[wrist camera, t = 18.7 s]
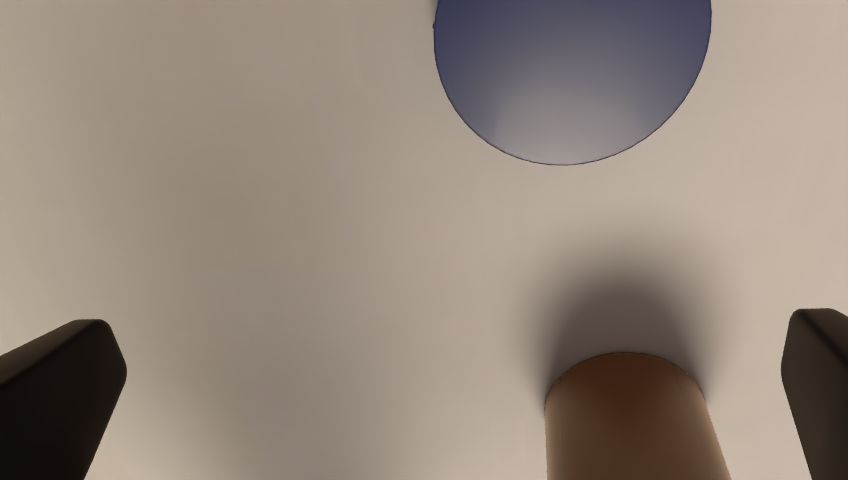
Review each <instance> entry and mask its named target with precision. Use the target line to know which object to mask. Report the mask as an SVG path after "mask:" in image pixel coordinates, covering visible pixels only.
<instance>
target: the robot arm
mask: <svg viewBox="0 0 848 480" xmlns="http://www.w3.org/2000/svg"><path fill="white" fill-rule="evenodd" d="M781 376H782V382H783V386H784V389H785V392H786V395H787V399H788V402H789V405H790V409H791V412H792V415H793V418H794V422H795V425H796V428H797V432H798V435H799V438H800V441H801V445H802V448H803V451H804V455H805V458H806V461H807V464H808V468H809V471H810V474H811V478H812V480H848V317H847V316H846V315H844V314H842V313H840V312H838V311H836V310H834V309H829V308H821V309H798V310H796V311H795V312H793V314H792V316H791V318H790V321H789V326H788V331H787V336H786V341H785V346H784V351H783V357H782V362H781ZM126 377H127V367H126V363H125V360H124V358H123V355H122V353H121V351H120V348H119V346H118V343H117V341H116V339H115V336H114V334H113V331H112V329H111V327H110V325H109V324H108V323H107V322H106V321H103V320H101V319H81V320H74V321H71V322H69V323H67V324H65V325H63V326H61V327H59V328H57V329H55V330H53V331H51V332H49V333H47V334H45V335H42V336H40V337H38V338H36V339H34V340H32V341H30V342H28V343H26V344H24V345H22V346H20V347H18V348H16V349H14V350H12V351H10V352H8V353H5V354H3V355H1V356H0V480H84V478H85V476H86V474H87V472H88V470H89V467H90V465H91V463H92V461H93V458H94V456H95V453H96V451H97V449H98V446H99V444H100V441H101V439H102V437H103V434H104V432H105V430H106V427H107V425H108V422H109V420H110V418H111V415H112V413H113V410H114V408H115V406H116V403H117V401H118V399H119V396H120V394H121V391H122V389H123V387H124V384H125V381H126Z"/></svg>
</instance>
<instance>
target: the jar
mask: <svg viewBox="0 0 848 480" xmlns="http://www.w3.org/2000/svg"><path fill="white" fill-rule="evenodd" d="M545 436H546V459H547V480H732V479H731V477H730V474H729V471H728V468H727V465H726V462H725V459H724V456H723V453H722V450H721V447H720V444H719V441H718V439H717V436H716V433H715V430H714V427H713V424H712V421H711V418H710V415H709V412H708V409H707V406H706V403H705V400H704V398H703V395H702V393H701V390H700V389H699V387H698V385H697V384H696V382H695V381H694V380H693V379H692V378H691V377H690V376H689V375H688V374H687V373H686V372H685V371H683V370H682V369H681V368H679V367H677V366H676V365H674V364H672V363H670V362H668V361H666V360H663V359H661V358H658V357H654V356H650V355H646V354H638V353H615V354H608V355H602V356H599V357H595V358H592V359H589V360H587V361H584V362H582V363H580V364H578V365H576V366H574V367H573V368H571V369H570V370H569V371H567V372H566V373H565V374H564V375H562V376H561V377H560V378H559V379H558V381H557V382H556V383H555V384H554V386H553V387H552V389H551V391H550V392H549V394H548V397H547V400H546V404H545Z"/></svg>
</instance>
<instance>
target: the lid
mask: <svg viewBox="0 0 848 480" xmlns="http://www.w3.org/2000/svg"><path fill="white" fill-rule="evenodd" d="M711 17H712V10H711V0H439V1H438V5H437V10H436V14H435V21H434V23H433V29H434V52H435V60H436V66H437V69H438V73H439V76H440V80H441V83H442V85H443V88H444V90H445V92H446V95H447V97H448V99H449V100H450V102H451V104H452V105H453V107H454V109H455V110H456V112H457V113H458V114H459V116H460V117H461V118H462V120H463V121H464V122H465V123H466V124H467V125H468V126H469V127H470V128H471V129H472V130H473V131H474V132H475V133H476V134H477V135H478V136H479V137H481V138H482V139H483V140H485V141H486V142H487V143H489V144H490V145H492V146H493V147H495V148H497V149H499V150H500V151H502V152H504V153H507V154H509V155H511V156H514V157H516V158H519V159H522V160H526V161H530V162H533V163H540V164H547V165H576V164H584V163H589V162H594V161H598V160H602V159H605V158H608V157H610V156H613V155H616V154H618V153H620V152H622V151H625V150H627V149H629V148H631V147H633V146H634V145H636V144H637V143H639V142H641V141H642V140H644V139H646V138H647V137H648V136H649V135H651V134H652V133H653V132H654V131H656V130H657V129H658V128H660V127H661V126H662V125H663V124H664V123H665V122H666V121H667V120H668V119H669V118H670V117H671V116H672V115H673V113H674V112H675V111H676V110H677V108H678V107H679V106H680V105H681V103H682V102H683V101H684V100H685V98H686V96H687V95H688V93H689V91H690V90H691V88H692V87H693V85H694V83H695V81H696V79H697V77H698V74H699V72H700V70H701V68H702V65H703V62H704V59H705V56H706V52H707V49H708V44H709V38H710V33H711Z"/></svg>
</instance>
